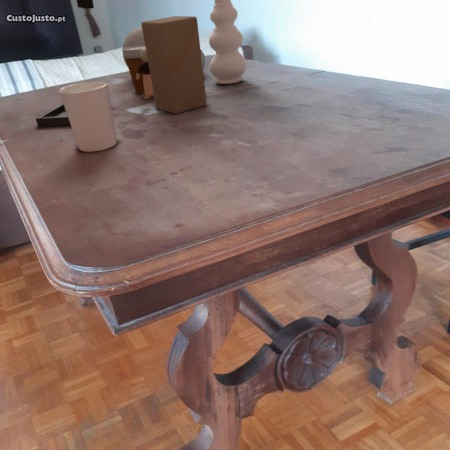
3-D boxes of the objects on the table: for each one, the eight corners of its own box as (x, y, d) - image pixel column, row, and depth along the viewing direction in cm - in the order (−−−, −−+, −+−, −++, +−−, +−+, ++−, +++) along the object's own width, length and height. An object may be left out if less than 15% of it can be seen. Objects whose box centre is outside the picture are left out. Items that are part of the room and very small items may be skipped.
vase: (236, 87, 136) (227, -17, 122) (204, 86, 141) (193, -14, 127) (254, 78, 143) (248, -21, 129) (223, 78, 149) (214, -18, 134)
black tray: (38, 127, 122) (35, 118, 120) (63, 111, 133) (61, 103, 132) (89, 124, 119) (87, 115, 117) (111, 108, 130) (109, 100, 129)
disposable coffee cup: (128, 96, 140) (119, 51, 133) (132, 89, 148) (124, 46, 141) (160, 93, 140) (153, 47, 133) (162, 86, 148) (155, 43, 141)
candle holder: (116, 150, 99) (101, 89, 92) (70, 155, 100) (52, 95, 93) (123, 136, 107) (111, 79, 100) (81, 140, 108) (66, 84, 101)
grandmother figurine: (142, 100, 134) (132, 51, 127) (139, 98, 137) (129, 49, 130) (168, 95, 136) (160, 46, 129) (164, 93, 139) (156, 45, 132)
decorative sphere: (125, 77, 166) (116, 28, 158) (167, 70, 169) (160, 22, 160) (130, 84, 154) (119, 32, 146) (175, 77, 157) (167, 25, 148)
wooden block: (175, 114, 118) (160, 23, 106) (155, 108, 125) (140, 22, 113) (207, 105, 122) (197, 16, 111) (187, 100, 129) (175, 15, 118)
